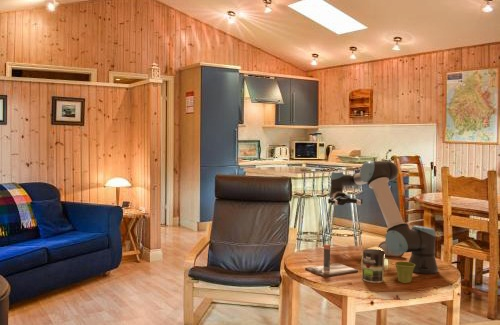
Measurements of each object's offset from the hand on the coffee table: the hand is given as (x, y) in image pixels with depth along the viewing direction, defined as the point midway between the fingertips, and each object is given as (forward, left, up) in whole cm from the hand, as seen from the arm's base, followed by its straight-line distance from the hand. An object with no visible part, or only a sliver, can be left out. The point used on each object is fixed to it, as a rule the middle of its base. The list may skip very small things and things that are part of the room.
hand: (348, 203), depth 281 cm
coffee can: (-38, +16, -32) cm, 52 cm away
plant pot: (-47, +4, -32) cm, 57 cm away
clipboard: (-16, +24, -32) cm, 43 cm away
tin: (-7, -28, -32) cm, 43 cm away
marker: (-17, +28, -31) cm, 45 cm away
